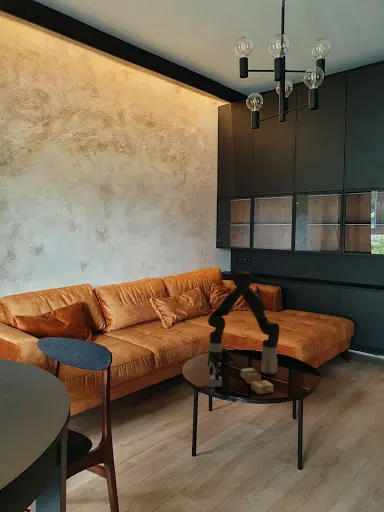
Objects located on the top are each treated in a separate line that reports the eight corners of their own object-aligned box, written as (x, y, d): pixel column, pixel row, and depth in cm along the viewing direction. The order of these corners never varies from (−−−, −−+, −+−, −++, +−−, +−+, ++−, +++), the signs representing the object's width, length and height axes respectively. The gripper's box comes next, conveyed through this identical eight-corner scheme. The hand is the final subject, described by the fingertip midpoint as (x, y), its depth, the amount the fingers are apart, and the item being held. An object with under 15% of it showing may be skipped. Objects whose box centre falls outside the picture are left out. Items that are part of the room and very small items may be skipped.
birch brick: (265, 386, 229) (266, 380, 229) (273, 392, 222) (273, 385, 222) (250, 388, 226) (251, 381, 226) (257, 394, 218) (258, 387, 218)
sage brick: (251, 375, 248) (251, 367, 248) (255, 377, 244) (255, 370, 244) (240, 376, 245) (240, 368, 245) (244, 379, 241) (244, 371, 240)
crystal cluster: (226, 368, 262) (229, 353, 261) (210, 362, 270) (212, 348, 269) (236, 365, 273) (238, 351, 272) (220, 359, 280) (222, 345, 280)
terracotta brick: (257, 380, 240) (257, 372, 240) (260, 383, 236) (261, 374, 235) (245, 381, 237) (245, 373, 237) (248, 384, 233) (248, 375, 233)
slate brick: (218, 383, 232) (219, 375, 232) (221, 386, 228) (222, 378, 227) (206, 385, 229) (206, 376, 229) (208, 387, 225) (209, 379, 225)
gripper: (226, 352, 222) (224, 380, 223) (216, 346, 235) (214, 372, 236) (214, 353, 219) (212, 382, 220) (204, 346, 233) (203, 373, 233)
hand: (213, 377), depth 228 cm, fingers open, 8 cm apart
